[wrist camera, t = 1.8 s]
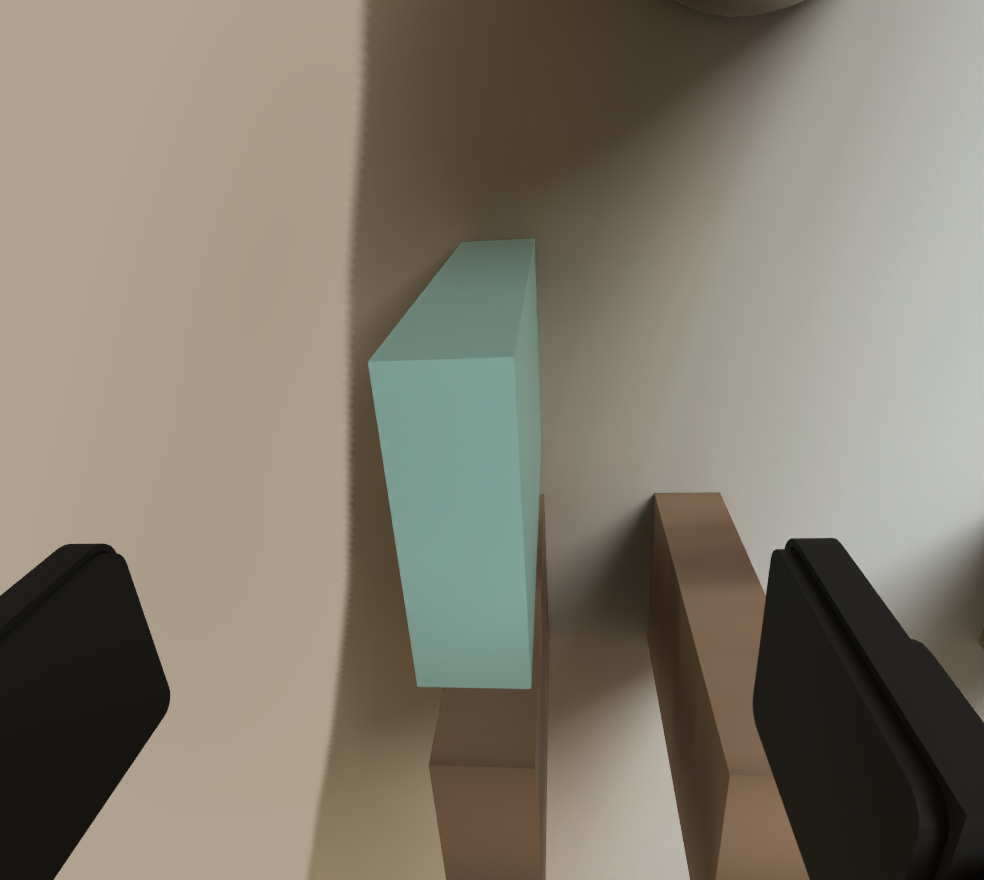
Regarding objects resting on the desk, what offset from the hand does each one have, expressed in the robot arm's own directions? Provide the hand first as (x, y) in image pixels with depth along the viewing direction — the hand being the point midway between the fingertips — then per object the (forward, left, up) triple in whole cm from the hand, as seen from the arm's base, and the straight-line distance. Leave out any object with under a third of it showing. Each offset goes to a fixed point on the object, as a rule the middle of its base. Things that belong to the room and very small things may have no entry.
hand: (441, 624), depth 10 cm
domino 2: (+7, +6, -11) cm, 14 cm away
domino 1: (+7, 0, -11) cm, 13 cm away
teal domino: (-1, 0, -11) cm, 11 cm away
